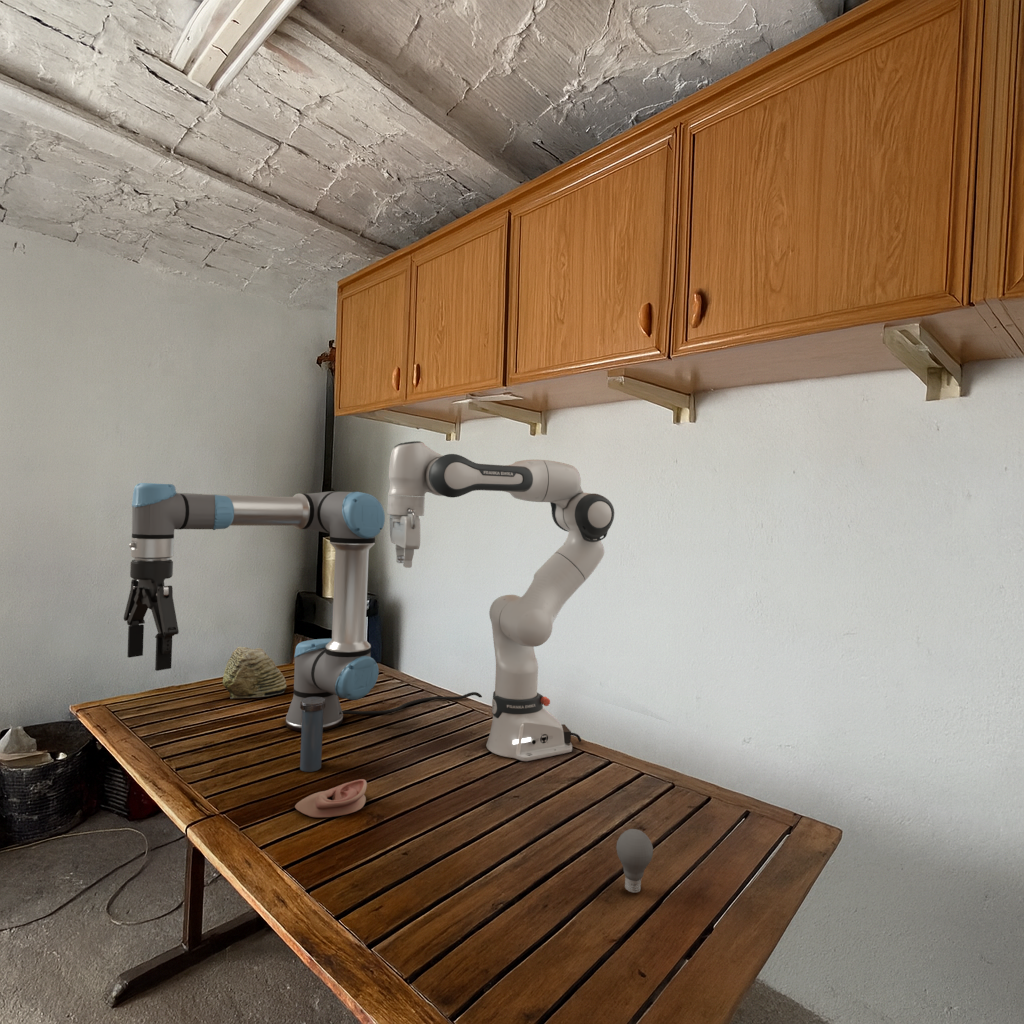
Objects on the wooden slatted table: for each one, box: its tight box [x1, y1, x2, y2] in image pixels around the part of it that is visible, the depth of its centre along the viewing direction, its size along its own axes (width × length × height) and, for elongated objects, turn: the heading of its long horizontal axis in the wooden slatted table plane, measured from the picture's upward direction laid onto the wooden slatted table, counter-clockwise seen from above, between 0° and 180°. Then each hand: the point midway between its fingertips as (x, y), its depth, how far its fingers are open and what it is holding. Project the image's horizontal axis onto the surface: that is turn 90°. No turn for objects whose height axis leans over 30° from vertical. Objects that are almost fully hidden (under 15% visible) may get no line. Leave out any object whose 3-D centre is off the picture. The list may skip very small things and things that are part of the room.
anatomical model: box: [294, 778, 368, 819], centre depth 130 cm, size 13×4×12 cm
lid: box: [300, 697, 326, 711], centre depth 147 cm, size 6×6×2 cm
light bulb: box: [615, 828, 654, 894], centre depth 106 cm, size 6×6×10 cm
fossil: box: [222, 646, 288, 699], centre depth 198 cm, size 9×18×15 cm, turn 132°
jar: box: [299, 709, 324, 773], centre depth 148 cm, size 5×5×15 cm
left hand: (148, 662), depth 129 cm, fingers open, 13 cm apart
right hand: (403, 565), depth 154 cm, fingers open, 8 cm apart
